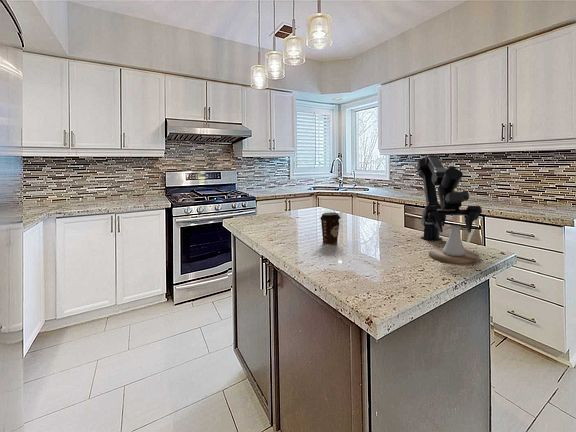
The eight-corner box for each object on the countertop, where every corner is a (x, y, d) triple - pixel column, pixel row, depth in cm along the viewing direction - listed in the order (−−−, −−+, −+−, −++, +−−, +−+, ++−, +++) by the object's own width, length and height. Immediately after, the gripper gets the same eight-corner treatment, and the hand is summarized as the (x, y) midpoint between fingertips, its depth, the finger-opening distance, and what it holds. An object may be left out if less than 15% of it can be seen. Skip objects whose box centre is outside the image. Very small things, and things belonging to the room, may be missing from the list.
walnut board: (447, 248, 123) (447, 245, 123) (489, 259, 109) (489, 255, 109) (419, 255, 116) (419, 251, 116) (460, 267, 102) (460, 263, 102)
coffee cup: (342, 241, 138) (342, 212, 136) (338, 246, 131) (338, 215, 128) (322, 240, 141) (322, 211, 139) (318, 244, 133) (318, 214, 131)
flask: (470, 255, 110) (472, 227, 108) (452, 257, 108) (454, 229, 106) (454, 250, 117) (456, 224, 115) (437, 252, 115) (439, 225, 113)
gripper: (426, 183, 114) (433, 218, 105) (482, 183, 111) (494, 219, 102) (419, 202, 123) (425, 236, 114) (471, 202, 120) (481, 237, 111)
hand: (455, 232), depth 110 cm, fingers open, 9 cm apart
